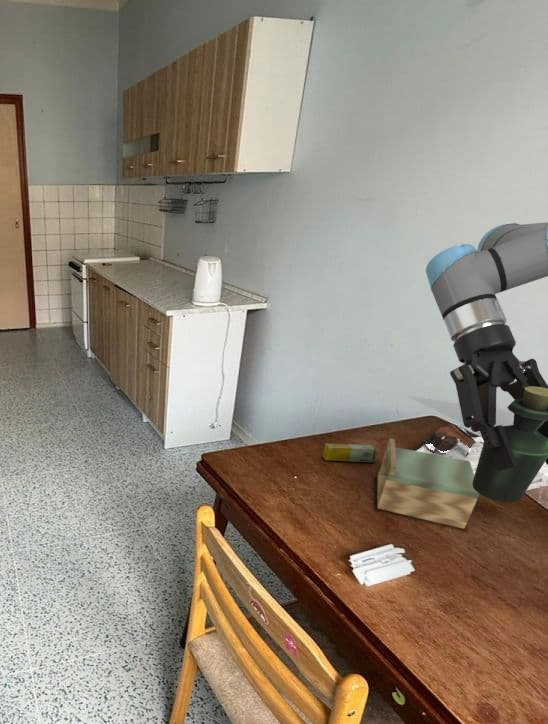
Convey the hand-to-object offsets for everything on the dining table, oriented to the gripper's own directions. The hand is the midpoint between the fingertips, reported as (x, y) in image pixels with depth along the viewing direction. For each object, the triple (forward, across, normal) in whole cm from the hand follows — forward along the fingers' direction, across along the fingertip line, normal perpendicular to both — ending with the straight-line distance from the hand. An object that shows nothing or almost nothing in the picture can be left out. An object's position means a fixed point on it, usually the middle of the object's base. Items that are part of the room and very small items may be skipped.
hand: (532, 465), depth 72 cm
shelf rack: (0, -10, -35) cm, 37 cm away
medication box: (-13, -6, -49) cm, 51 cm away
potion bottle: (+3, 0, -8) cm, 8 cm away
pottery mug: (-12, -33, -49) cm, 60 cm away
